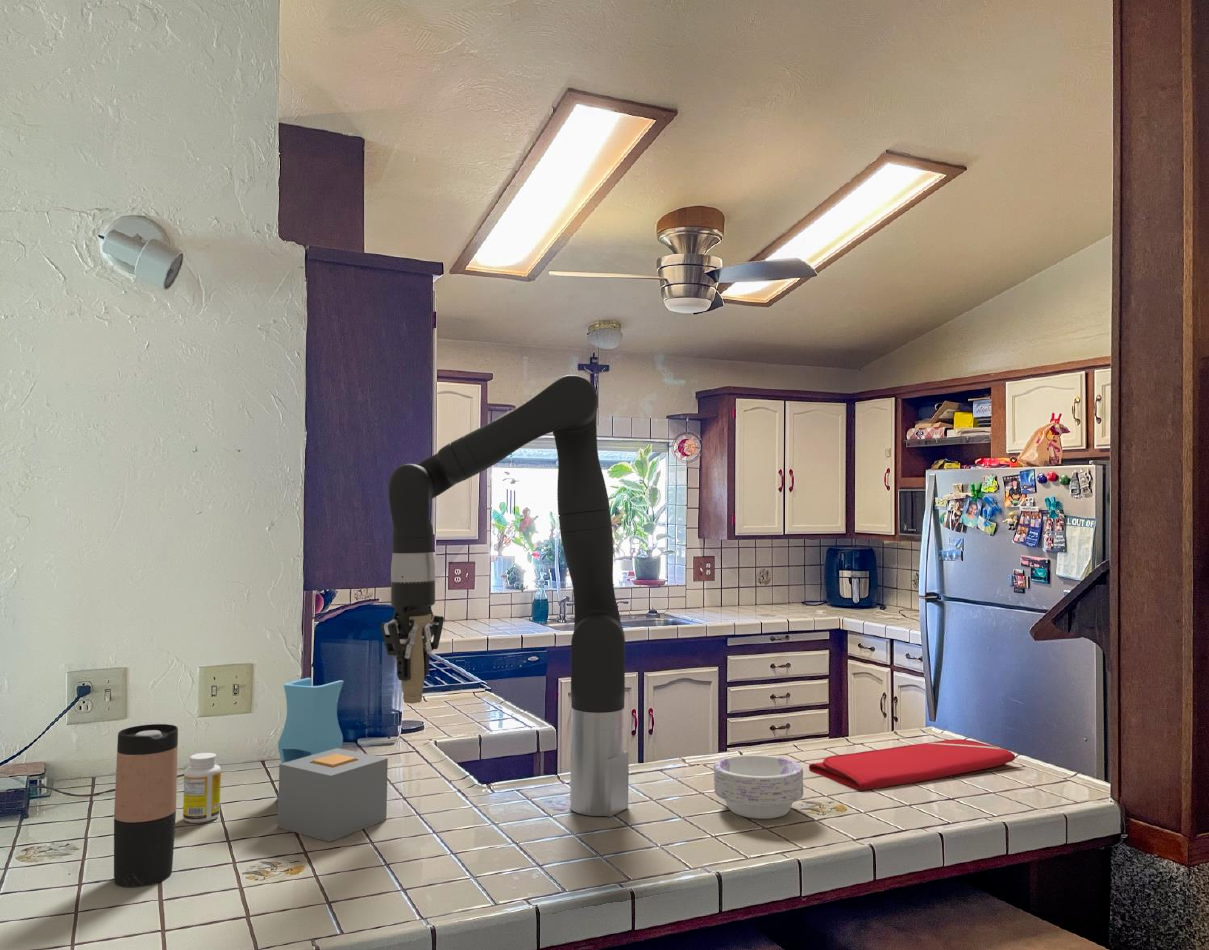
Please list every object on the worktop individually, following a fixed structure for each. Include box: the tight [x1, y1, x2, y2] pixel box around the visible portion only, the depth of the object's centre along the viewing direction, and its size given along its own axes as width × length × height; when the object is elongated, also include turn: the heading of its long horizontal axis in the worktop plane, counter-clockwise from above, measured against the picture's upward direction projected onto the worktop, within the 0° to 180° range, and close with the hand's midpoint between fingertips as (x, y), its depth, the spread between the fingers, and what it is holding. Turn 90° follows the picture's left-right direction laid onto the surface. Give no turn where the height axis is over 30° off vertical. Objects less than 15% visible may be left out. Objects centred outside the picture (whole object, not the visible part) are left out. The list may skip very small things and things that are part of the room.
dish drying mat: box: [808, 738, 1016, 792], centre depth 180 cm, size 16×41×4 cm, turn 115°
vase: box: [276, 677, 344, 800], centre depth 160 cm, size 8×8×20 cm
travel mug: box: [113, 723, 179, 888], centre depth 123 cm, size 8×8×20 cm
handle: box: [400, 614, 431, 705], centre depth 154 cm, size 5×6×15 cm
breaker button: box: [313, 754, 356, 768], centre depth 145 cm, size 5×5×4 cm
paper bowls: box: [713, 754, 804, 820], centre depth 153 cm, size 15×15×8 cm
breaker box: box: [277, 748, 389, 842], centre depth 145 cm, size 12×12×10 cm
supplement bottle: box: [182, 752, 222, 824], centre depth 147 cm, size 6×6×10 cm
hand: (413, 677), depth 154 cm, fingers closed on handle, 4 cm apart
